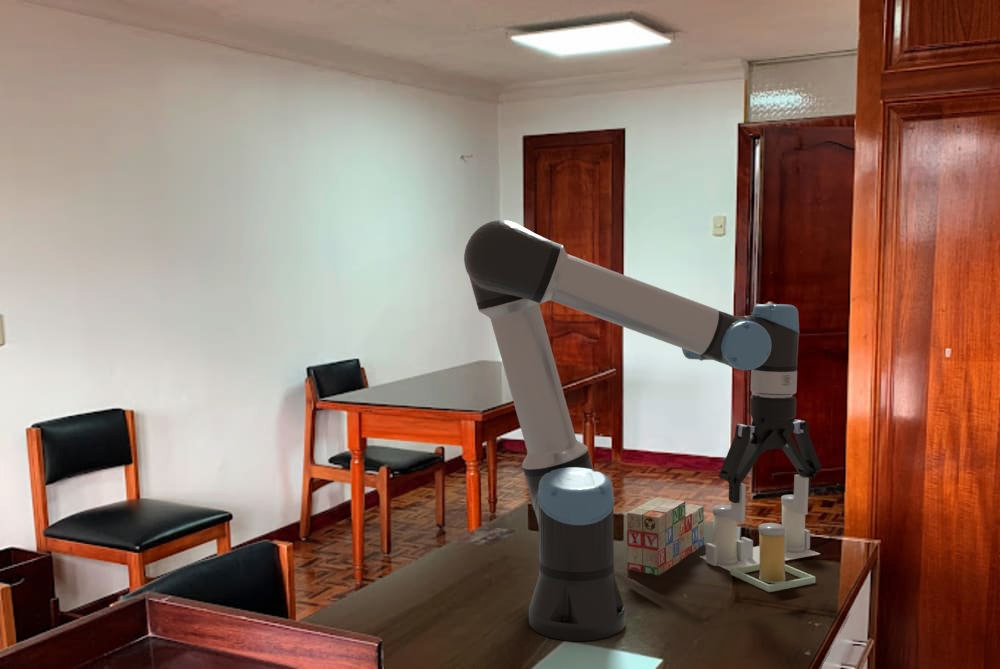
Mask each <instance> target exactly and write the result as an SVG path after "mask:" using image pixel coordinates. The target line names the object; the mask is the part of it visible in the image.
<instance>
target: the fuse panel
mask: <svg viewBox="0 0 1000 669" xmlns="http://www.w3.org/2000/svg"><path fill="white" fill-rule="evenodd" d="M819 555H820V552H817V551H815V550H811V530H810V529H806V528H805V551H804V552H801V553H792V552H787V534H785V562H786V561H790V560H791V561H792V560H796V559H801V558H806V557H812V556H819ZM698 557H699V558H701V559H703V560H705V563H707V564H709V565H711V566H712V567H716V566H718V567H720V568H723V569H725V570H726V571H729V572H730V568H736V567H741V566H747V565H752V564H757V563H760V548H759V545H757V546H754V541H753V539H750V538H748V537H745V536H741V537H740V539H738V538H737V563H736V564H734V565H720V564H718V546H715V545H713V543H710V542H708V543H707V542H705V554H704V555H699V556H698Z"/></svg>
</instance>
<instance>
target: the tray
mask: <svg viewBox="0 0 1000 669" xmlns="http://www.w3.org/2000/svg"><path fill="white" fill-rule="evenodd" d="M758 571H760V563H757V564H752V565H747V566H741V567H736V568H730V571H729V572H730V575H731V576H733V577H735V578H737V579H740V580H742V581H744V582H746V583H748V584H750V585H752V586H755V587H757V588H759V589H761V590H763V591H765V592H768V593H771V592H772V593H773V592H777V591H782V590H786V589H787V590H788V589H791V588H797V587H802V586H806V585H812V584H816V576H815V575H812V574H810V573H807V572H805V571H802V570H800V569H797V568H795V567H792V566H791V565H788V564H786V563H785V573H788V574H791V575H793V576H795V577H797V578H795V579H791V580H787V581H786V580H785V581H784V582H780V583H770V584H769V583H768V582H765V581H762V580H760V579H759V578H758V579H757V578H756V577H753V576H751V575H749V574H747V573H750V572H758Z"/></svg>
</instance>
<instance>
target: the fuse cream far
mask: <svg viewBox="0 0 1000 669" xmlns="http://www.w3.org/2000/svg"><path fill="white" fill-rule="evenodd" d="M793 504H794V494H784V495H782V496H781V525H784V526H785V534H787V552H792V553H801V552H804V551H805V529H806V515H803V514H800V513H797V512H794V511H793Z"/></svg>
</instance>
